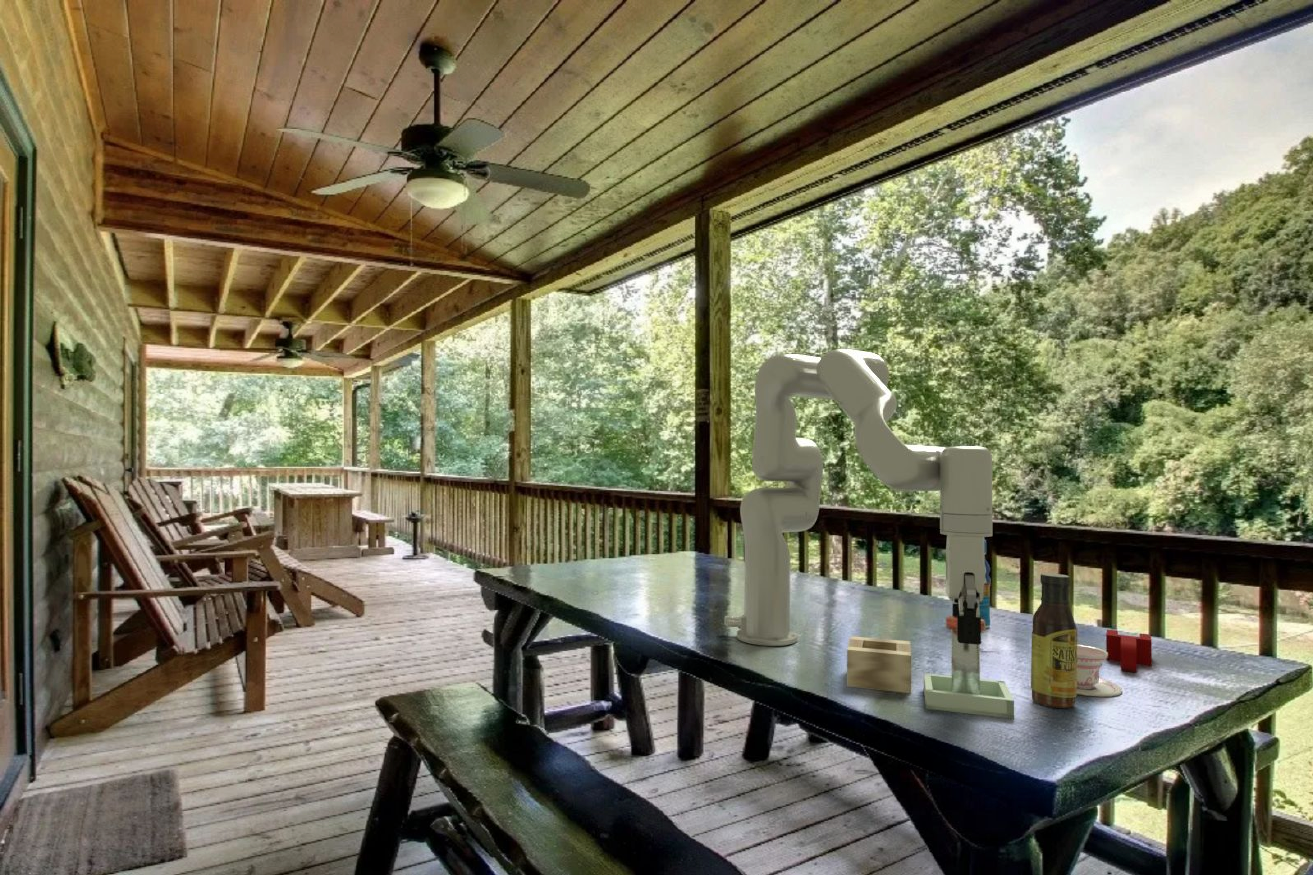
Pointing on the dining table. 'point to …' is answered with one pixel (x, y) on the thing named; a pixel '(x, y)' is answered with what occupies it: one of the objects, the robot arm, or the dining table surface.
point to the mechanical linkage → (1129, 650)
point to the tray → (968, 697)
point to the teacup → (1093, 673)
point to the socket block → (879, 664)
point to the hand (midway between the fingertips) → (966, 636)
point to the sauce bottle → (1054, 646)
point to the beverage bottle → (985, 603)
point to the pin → (964, 661)
